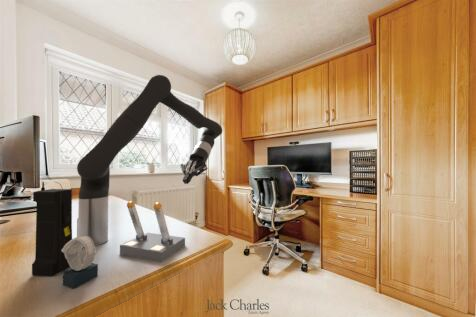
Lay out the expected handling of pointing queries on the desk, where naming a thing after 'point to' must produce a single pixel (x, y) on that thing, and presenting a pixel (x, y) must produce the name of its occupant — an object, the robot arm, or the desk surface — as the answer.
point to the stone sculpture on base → (79, 270)
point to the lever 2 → (161, 222)
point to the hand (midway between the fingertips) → (185, 182)
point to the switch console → (152, 247)
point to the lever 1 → (135, 219)
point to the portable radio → (52, 230)
